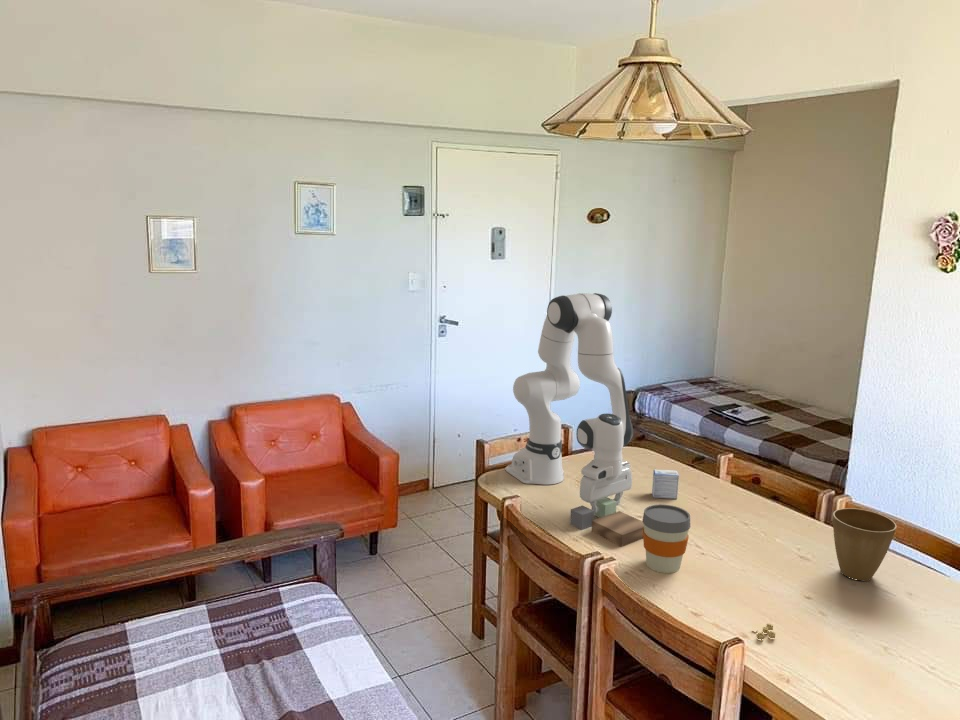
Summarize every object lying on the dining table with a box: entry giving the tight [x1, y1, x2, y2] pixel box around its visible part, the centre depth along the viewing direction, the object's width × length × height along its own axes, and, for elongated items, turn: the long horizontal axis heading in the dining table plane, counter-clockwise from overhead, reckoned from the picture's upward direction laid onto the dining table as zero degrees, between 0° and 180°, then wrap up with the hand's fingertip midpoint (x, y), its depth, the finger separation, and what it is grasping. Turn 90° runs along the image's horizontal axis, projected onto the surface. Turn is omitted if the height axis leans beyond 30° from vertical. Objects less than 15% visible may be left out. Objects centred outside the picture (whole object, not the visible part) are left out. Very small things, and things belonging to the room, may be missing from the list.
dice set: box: [756, 623, 776, 640], centre depth 169 cm, size 5×5×2 cm
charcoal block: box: [569, 505, 595, 531], centre depth 224 cm, size 5×5×5 cm
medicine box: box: [651, 469, 680, 500], centre depth 247 cm, size 8×4×9 cm, turn 84°
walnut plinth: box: [590, 510, 644, 548], centre depth 219 cm, size 12×12×4 cm
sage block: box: [594, 496, 618, 518], centre depth 232 cm, size 5×5×5 cm
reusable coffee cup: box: [642, 504, 691, 574], centre depth 199 cm, size 12×12×15 cm
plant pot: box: [832, 507, 898, 581], centre depth 196 cm, size 15×15×16 cm
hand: (605, 508), depth 232 cm, fingers open, 8 cm apart
